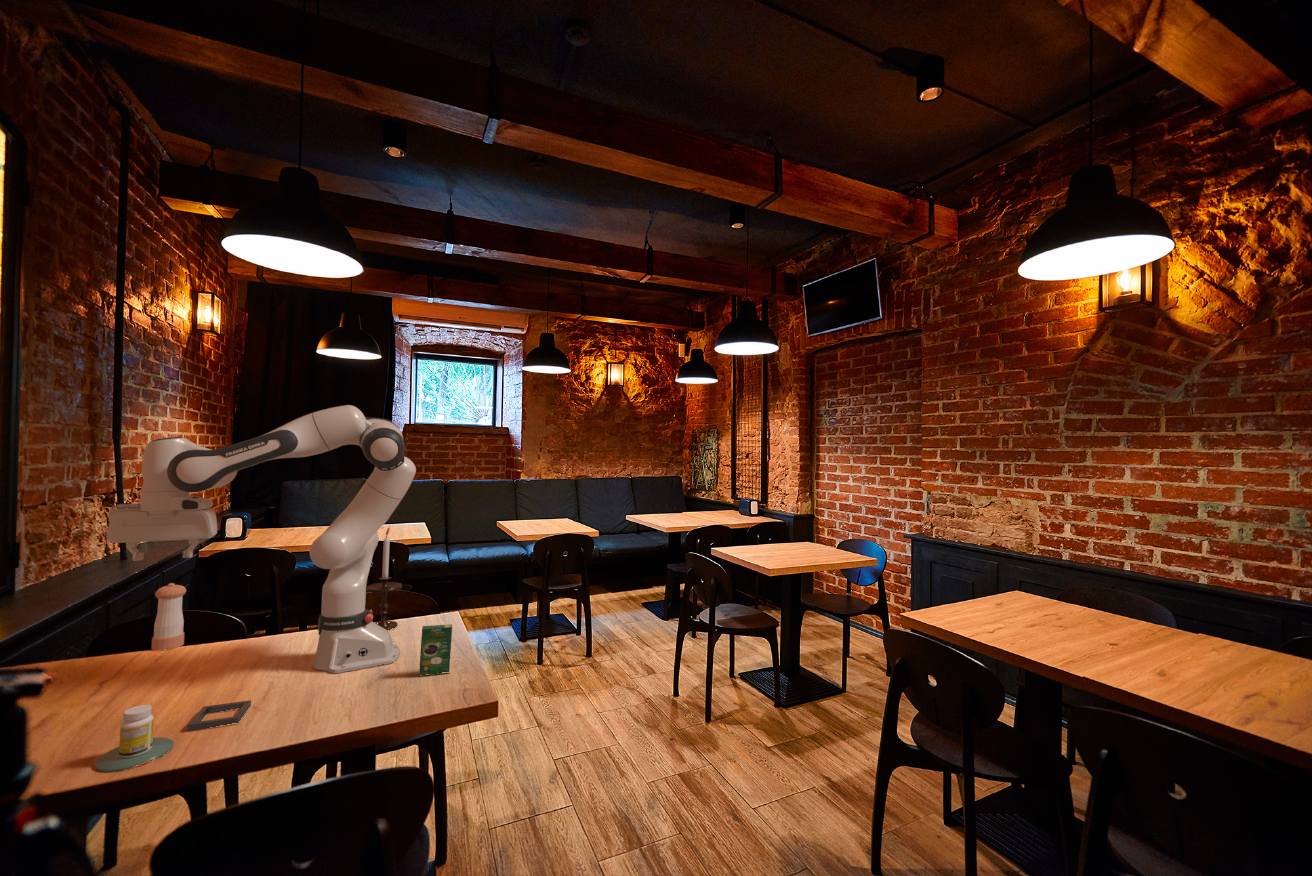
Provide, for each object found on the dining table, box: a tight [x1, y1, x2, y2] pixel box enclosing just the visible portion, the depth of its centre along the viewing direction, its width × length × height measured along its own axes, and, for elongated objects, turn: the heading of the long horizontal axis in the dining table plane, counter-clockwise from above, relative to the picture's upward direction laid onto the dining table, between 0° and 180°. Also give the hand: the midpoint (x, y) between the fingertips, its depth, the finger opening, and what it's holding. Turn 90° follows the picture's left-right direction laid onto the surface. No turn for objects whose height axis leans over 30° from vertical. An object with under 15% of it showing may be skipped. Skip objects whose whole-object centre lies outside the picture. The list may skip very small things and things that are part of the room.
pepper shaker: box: [150, 582, 187, 652], centre depth 161 cm, size 7×7×19 cm
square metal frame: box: [186, 699, 252, 733], centre depth 119 cm, size 9×9×1 cm
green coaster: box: [94, 736, 174, 773], centre depth 104 cm, size 11×11×1 cm
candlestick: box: [366, 525, 403, 631], centre depth 183 cm, size 11×11×35 cm
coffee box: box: [418, 623, 453, 677], centre depth 146 cm, size 8×3×13 cm, turn 110°
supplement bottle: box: [118, 704, 155, 758], centre depth 105 cm, size 5×5×8 cm
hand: (163, 559), depth 130 cm, fingers open, 8 cm apart
